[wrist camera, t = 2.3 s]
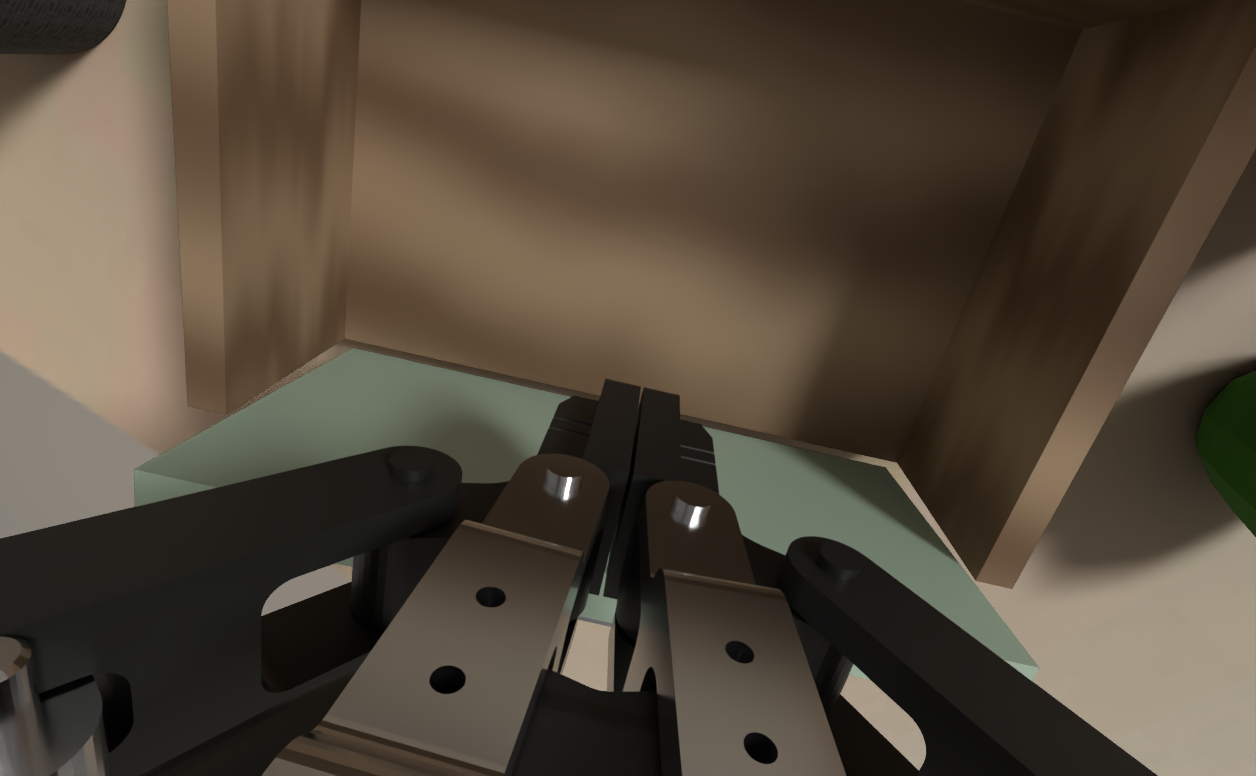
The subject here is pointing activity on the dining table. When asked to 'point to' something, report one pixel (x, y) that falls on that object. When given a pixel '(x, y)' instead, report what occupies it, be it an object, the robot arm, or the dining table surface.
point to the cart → (723, 210)
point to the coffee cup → (55, 25)
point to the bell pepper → (1232, 446)
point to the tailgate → (514, 430)
